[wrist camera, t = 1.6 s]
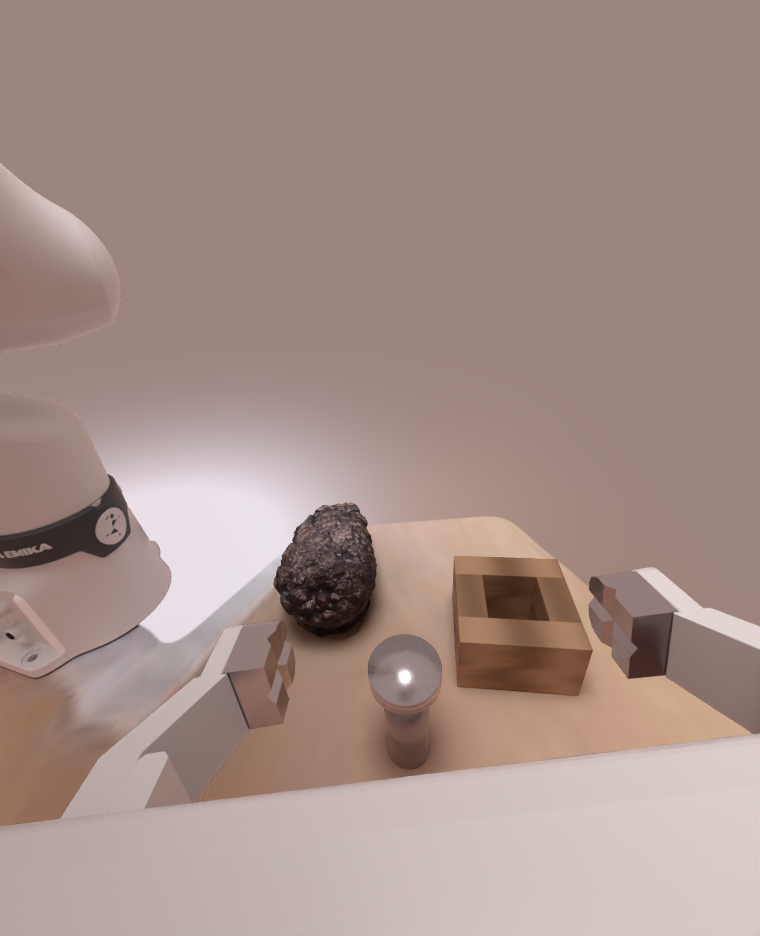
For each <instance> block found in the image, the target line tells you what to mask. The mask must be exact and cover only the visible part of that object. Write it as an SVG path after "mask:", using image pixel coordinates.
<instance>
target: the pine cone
mask: <svg viewBox="0 0 760 936" xmlns="http://www.w3.org/2000/svg"><path fill="white" fill-rule="evenodd" d="M367 524H368V523H367V520H366V518H365V517H363V516H362V514H360V510H359V508H358V507H357V505H355V504H353V503H344V504H336V505H332V506H328V505H327V506H326V505H323V506H321V507H320V508H318V509H317V510H316V511H315V513H314V515H309V516H308V518H307V519H306V520H305V521H304V522H303V523H302V524H301V525H300V526H298V527H297V528H296V530H295V532H294V534H295V535H294V538H293V540H292V541H293V543H291V544H290V545H289V546H288V547H287V548H286V550H285V552H284V553H283V555H282V560H281V566H280V567H278V569H277V573H276V577H275V579H274V587H275V588H276V590H277V591H278V592H279V594H280V595H281V597H280V601H281V604H282V607H283V609H284V610H285V611H286V613H288V614H289V615H294V617H295V619H296V620H297V623H298V625H300V626H301V627H303V628H305V629H306V630H308V631H310V632H311V633H313V634H315V635H317V636H319V637H330V638H342V637H348V636H350V635H352V634H354V633H356V632H358V630H359V629H360V627H361V626H362V624H363V622H364V621H365V618H366V614H367V611H368V608H369V606H370V597H371V595H372V591H373V589H374V587H375V577H376V574H377V573H376V566H377V564H376V562H375V561H376V559H375V556H374V549H373V547H372V545H371V544H372V540H371V535H370V534H369V532H368V530H367V528H366V527H367Z"/></svg>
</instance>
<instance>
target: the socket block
mask: <svg viewBox="0 0 760 936" xmlns="http://www.w3.org/2000/svg"><path fill="white" fill-rule="evenodd" d="M452 598H453V616H454V635H455V653H456V671H457V686H458V687H471V688H484V689H497V690H510V691H524V692H537V693H550V694H563V695H576V696H578V694H579V691H580V688H581V685H582V682H583V679H584V676H585V673H586V670H587V667H588V664H589V661H590V657H591V654H592V651H593V650H592V647H591V644H590V642H589V639H588V637H587V634H586V632H585V629H584V627H583V624H582V622H581V619H580V616H579V614H578V611H577V609H576V606H575V604H574V601H573V599H572V596H571V594H570V591H569V588H568V586H567V583H566V581H565V578H564V576H563V573H562V571H561V568H560V565H559V563H558V560H557V559H534V558H504V557H474V556H454V572H453V596H452ZM498 618H501V619H498ZM516 619H520V620H516Z"/></svg>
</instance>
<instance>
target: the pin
mask: <svg viewBox="0 0 760 936" xmlns="http://www.w3.org/2000/svg"><path fill="white" fill-rule="evenodd" d="M368 674H369V682H370V688H371V691H372V694H373V695H374V697H375V699H376V700H377V702H378V703H379V704H380V705H381V706H383V707H384V710H385V720H386V730H387V740H388V750H389V754H390V756H391V758H392V760H393V761H394V762H395V763H396V764H397V765H398V766H400V767H402V768H404V769H414V768H417V767H419V766H421V765H422V764H423V763H424V762H425V760H426V759H427V756H428V753H429V706H431V705H432V704H433V702H434V701H435V700H436V698H437V697H438V695H439V692H440V689H441V681H442V665H441V660H440V658H439V655H438V653H437V652H436V650H435V649H434V648H433V647H432V645H430V644H429V643H428V642H427V641H425V640H424V639H422V638H419V637H417V636H413V635H396V636H392V637H389V638H387V639H385V640H384V641H382V642H381V643H380V644H379V645H378V646H377V647H376V648H375V649H374V651H373V652H372V654H371V656H370V659H369V663H368Z"/></svg>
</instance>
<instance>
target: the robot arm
mask: <svg viewBox="0 0 760 936" xmlns="http://www.w3.org/2000/svg"><path fill="white" fill-rule="evenodd" d="M120 298H121V288H120V281H119V276H118V272H117V269H116V267H115V264H114V262H113V260H112V258H111V256H110V254H109V253H108V251H107V249H106V248H105V247H104V245H103V244H102V242H101V241H100V240H99V239H98V237H97V236H96V235H95V234H94V233H93V232H92V231H91V230H90V229H89V228H88V227H87V226H86V225H85V224H84V223H83V222H81V221H80V220H79V219H78V218H77V217H75V216H74V215H72V214H71V213H70V212H68V211H67V210H65V209H63V208H61V207H59V206H57V205H56V204H54V203H52V202H50V201H49V200H47V199H46V198H44V197H42V196H41V195H40V194H38V193H37V192H35V191H34V190H32V189H31V188H30V187H28V186H27V185H26V184H24V183H23V182H22V181H20V180H19V179H18V178H17V177H16V176H15V175H13V174H12V173H11V172H10V171H9V170H8V169H6V168H5V167H4V166H3V165H2V164H1V163H0V354H1V353H7V352H13V351H19V350H25V349H31V348H37V347H43V346H49V345H56V344H60V343H63V342H66V341H69V340H72V339H75V338H78V337H81V336H84V335H87V334H89V333H92V332H94V331H97V330H99V329H102V328H105V327H107V326H110V325H111V323H112V322H113V320H114V319H115V317H116V314H117V312H118V309H119V305H120ZM170 582H171V571H170V569H169V567H168V566H167V564H165V562H164V561H163V560H162V559H161V557H160V548H159V546H158V545H157V543H156V542H154V541H150V540H149V538H148V537H147V535H146V534H145V532H144V531H143V529H142V527H141V526H140V524H139V522H138V521H137V519H136V518H135V516H134V515H133V513H132V512H131V510H130V509H129V508H128V507H127V503H126V501H125V499H124V497H123V495H122V490H121V488H120V487H119V485H117V483H116V481H115V479H114V478H113V477H112V476H110V475H109V474H107V473H106V471H105V469H104V467H103V464H102V462H101V460H100V458H99V456H98V454H97V451H96V449H95V447H94V445H93V443H92V441H91V439H90V437H89V435H88V433H87V430H86V429H85V426H84V424H83V422H82V420H81V419H80V418H79V417H78V416H77V415H76V414H75V413H74V412H73V411H72V410H70V409H69V408H67V407H66V406H64V405H62V404H60V403H57V402H55V401H52V400H48V399H45V398H40V397H36V396H30V395H23V394H16V393H8V392H0V666H2V667H5V668H7V669H10V670H13V671H15V672H18V673H21V674H23V675H26V676H29V677H32V678H36V677H40V676H43V675H45V674H47V673H49V672H51V671H52V670H54V669H56V668H57V667H59V666H61V665H62V664H64V663H65V662H67V661H68V660H70V659H71V658H73V657H75V656H77V655H79V654H81V653H84V652H86V651H89V650H92V649H94V648H97V647H99V646H102V645H104V644H106V643H108V642H110V641H112V640H114V639H116V638H118V637H119V636H121V635H123V634H124V633H126V632H128V631H129V630H131V629H132V628H134V627H135V626H136V625H138V624H139V623H140V622H141V621H143V620H144V619H145V618H146V617H147V616H148V615H149V614H150V613H151V612H152V611H153V610H154V609H155V608H156V607H157V606H158V605H159V604H160V602H161V601H162V600H163V598H164V596H165V595H166V593H167V591H168V589H169V586H170ZM589 590H590V592H591V593H592V594H593V595H594V598H593V599H592V600H591V602H590V603H589V617H590V621H591V625H592V627H593V629H594V631H595V633H596V635H597V636H598V638H599V639H600V641H601V642H602V643H604V644H606V645H608V646H610V647H612V657H613V659H614V660H615V662H616V663H617V664H618V666H619V667H620V668H621V670H622V671H623V673H624V674H625V675H626V677H627V678H628V679H633V678H643V677H653V676H663V675H666V678H668V679H669V680H671V681H673V682H674V683H676V684H677V685H679V686H680V687H682V688H683V689H685V690H686V691H688V692H690V693H691V694H693V695H694V696H696V697H697V698H699V699H700V700H702V701H703V702H705V703H707V704H708V705H710V706H711V707H713V708H714V709H716V710H717V711H719V712H720V713H722V714H724V715H725V716H727V717H728V718H730V719H731V720H733V721H734V722H736V723H737V724H739V725H740V726H742V727H744V728H745V729H747V730H748V731H750V732H751V733H753V734H751V735H742V736H734V737H726V738H718V739H710V740H701V741H693V742H685V743H677V744H668V745H660V746H652V747H644V748H636V749H628V750H619V751H611V752H603V753H595V754H587V755H578V756H570V757H562V758H554V759H546V760H538V761H529V762H521V763H513V764H505V765H497V766H489V767H480V768H472V769H464V770H456V771H448V772H439V773H431V774H423V775H415V776H407V777H398V778H390V779H382V780H374V781H366V782H358V783H349V784H341V785H333V786H325V787H317V788H309V789H300V790H292V791H284V792H276V793H268V794H260V795H251V796H243V797H235V798H227V799H219V800H211V801H202V802H196V801H197V799H198V798H199V797H200V795H201V794H202V793H203V791H204V790H205V789H206V788H207V786H208V785H209V784H210V782H211V781H212V780H213V778H214V777H215V776H216V774H217V773H218V772H219V770H220V769H221V768H222V767H223V765H224V764H225V763H226V761H227V760H228V759H229V757H230V756H231V755H232V753H233V752H234V751H235V749H236V748H237V747H238V746H239V744H240V743H241V742H242V740H243V739H244V738H245V736H246V735H247V734H248V732H249V729H254V728H260V727H266V726H272V725H278V724H283V722H284V717H285V713H286V709H287V705H288V700H289V698H288V695H287V692H286V690H287V689H288V688H289V687H290V685H291V684H292V683H293V678H294V672H295V659H294V652H293V649H292V645H291V644H289V643H288V642H287V641H285V639H286V636H287V629H286V626H285V623H284V622H283V621H281V620H280V621H271V622H263V623H254V624H246V625H240V626H232V627H227V628H226V629H224V630H223V632H222V634H221V636H220V638H219V640H218V642H217V644H216V646H215V648H214V650H213V652H212V654H211V656H210V658H209V660H208V662H207V664H206V666H205V668H204V670H203V672H202V674H201V676H200V677H198V678H193V679H192V680H191V681H190V682H189V683H188V684H186V685H185V686H184V687H183V688H182V689H180V690H179V691H178V692H177V693H176V694H174V695H173V696H172V697H171V698H170V699H168V700H167V701H166V702H165V703H164V704H163V705H161V706H160V707H159V708H158V709H157V710H155V711H154V712H153V713H152V714H151V715H149V716H148V717H147V718H146V719H145V720H144V721H142V722H141V723H140V724H139V725H138V726H136V727H135V728H134V729H133V730H132V731H130V732H129V733H128V734H127V735H126V736H124V737H123V738H122V739H121V740H120V741H119V742H117V743H116V744H115V745H114V746H113V747H111V748H110V749H109V750H108V751H107V752H105V753H104V754H103V755H102V756H101V757H100V758H99V759H98V760H97V762H96V763H95V765H94V767H93V768H92V770H91V771H90V773H89V774H88V776H87V778H86V779H85V781H84V782H83V784H82V785H81V787H80V788H79V790H78V792H77V793H76V795H75V796H74V798H73V799H72V801H71V803H70V804H69V806H68V807H67V809H66V810H65V812H64V813H63V815H62V817H61V818H60V819H56V820H48V821H40V822H31V823H23V824H15V825H7V826H0V936H760V627H759V626H757V625H754V624H752V623H749V622H746V621H743V620H741V619H738V618H736V617H733V616H730V615H728V614H725V613H722V612H720V611H717V610H714V609H712V608H705V609H703V608H702V607H701V606H700V605H699V604H697V603H696V602H695V601H694V600H693V599H691V598H690V597H689V596H688V595H687V594H685V593H684V592H683V591H682V590H681V589H680V588H679V587H677V586H676V585H675V584H674V583H673V582H672V581H670V580H669V579H668V578H667V577H666V576H664V575H663V574H662V573H661V572H660V571H659V570H657V569H655V568H652V567H649V568H643V569H637V570H631V571H627V572H621V573H614V574H608V575H600V576H593V577H591V580H590V582H589Z"/></svg>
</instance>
